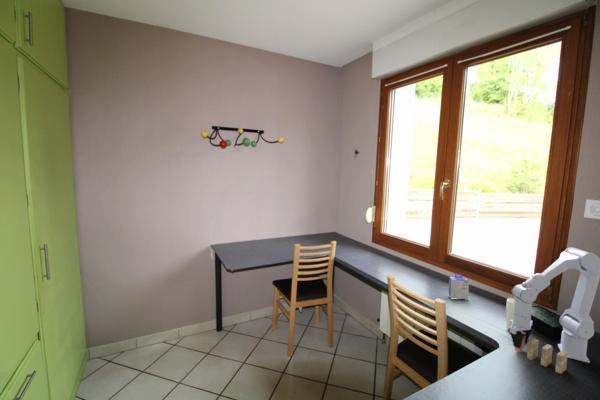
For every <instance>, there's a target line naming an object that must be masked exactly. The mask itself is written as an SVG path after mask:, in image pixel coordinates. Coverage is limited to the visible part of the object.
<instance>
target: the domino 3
mask: <svg viewBox="0 0 600 400" xmlns="http://www.w3.org/2000/svg"><path fill="white" fill-rule="evenodd" d="M567 354H568V352H565V351H563V350H562V351H560V350H559V352H558V353H556V358H555V368H554V369H555V373H558V374H559V375H562V374H563V373H564V372H565V371H567V365H568V357H567Z"/></svg>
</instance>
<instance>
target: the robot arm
mask: <svg viewBox="0 0 600 400" xmlns="http://www.w3.org/2000/svg"><path fill="white" fill-rule="evenodd" d="M569 269H570V270H577V271H578V272H580V274H579V278H578V281H577V285H576V287H575V292H574V294H573V298H572V302H571V306H570V308H568V309H564V311H563V313H562V314H561V316H560V317H559V321H558V322H559V324H560V325H561V327H562V331H561V336H560V337H561V338H560V343H557V347H558V349H559V352H560V351H562V350H563V351H565V352H568V354H567V359H572V360H576V361H580V362H583V363H584V362H585V363H588V364H590V363H591V361H590V359H589V358H588V356H587V350H588V349H587V348H588V340H590V339H591V338H592V337H593V336H594V334H595V329H594V328H595V327H594V324H595V322H594V321H593V319H592V317H591V316H590V312H591V309H592V306H593V304H594V303H593V302H594V299H595V297H596V296H595V295H596V292H597V288H598V285H599V282H600V257H599V256H598V255H597V254H596V253H593V252H589V251H585V250H582V249H579V248H577V247H573V246H571V247H567V248H566V249H565V250H564V251H562V252H561V253H560V255H559V257H558V258H557V259H556V260H555V261H554V262H553V263H552V264H551V265H550V266H548V267H547V268H546V269H545V270H544V271H543V272H541V273H539V272H537V273H533V274H532V275H531V277H529V278H528V279H527V280H525V281H523V282H522V283H519V284H516V285H515V286H514V287H513V288H512V289H511V293H512V295H513V298H514V299H515V300H514V315H513V320H510V322H511V323H512V326H511V328H509V329H508V330H507V331H508V333H509V335H510V337H511V340H512V344H513V347H514V348H515V347H517V348H520V347H521V344H522V340H523V338H524V337H525V334H523V333H521V332H520V331H523V332H526V337H525V346H526V345H528V342H529V338H530V336H531V335H532V333H533V332H534V331H535V329H534V328H533V327H532V326H533V320H532V308H533V302H535V301H536V300H537V298H538V295H539V293H541V292H543V290H545V289H546V288H547V287H549V286H550V285H551V280H553V279H554V278H556V277H557V276H559V275H560V274H562V273H564V272H565V271H567V270H569Z"/></svg>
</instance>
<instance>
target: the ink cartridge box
mask: <svg viewBox="0 0 600 400" xmlns="http://www.w3.org/2000/svg"><path fill="white" fill-rule="evenodd" d="M469 286H470V280H469V279H468V277H463V275H462V274H461V273H455V274H454V276H449V277H448V294H449V296H450V298H457V299H466V300H465V301H467V300H468V301H469V288H470V287H469ZM449 296H448V297H449ZM450 298H449V299H450Z"/></svg>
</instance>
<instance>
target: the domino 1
mask: <svg viewBox="0 0 600 400" xmlns="http://www.w3.org/2000/svg"><path fill="white" fill-rule="evenodd" d="M539 342H540V341H539V339H536V338H532V339H531V340H528V341H527V353H526V355H527V356H526V358H527V359H528V360H530V361H533V360H535V359H536V358H537V357H538V354H539V344H540V343H539Z"/></svg>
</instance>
